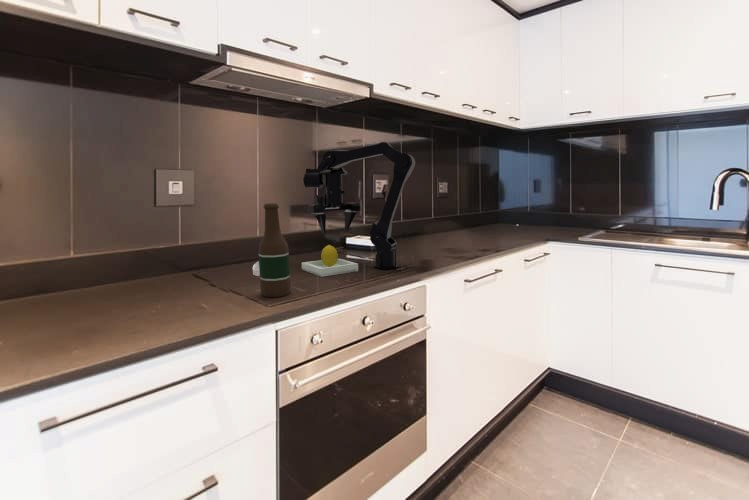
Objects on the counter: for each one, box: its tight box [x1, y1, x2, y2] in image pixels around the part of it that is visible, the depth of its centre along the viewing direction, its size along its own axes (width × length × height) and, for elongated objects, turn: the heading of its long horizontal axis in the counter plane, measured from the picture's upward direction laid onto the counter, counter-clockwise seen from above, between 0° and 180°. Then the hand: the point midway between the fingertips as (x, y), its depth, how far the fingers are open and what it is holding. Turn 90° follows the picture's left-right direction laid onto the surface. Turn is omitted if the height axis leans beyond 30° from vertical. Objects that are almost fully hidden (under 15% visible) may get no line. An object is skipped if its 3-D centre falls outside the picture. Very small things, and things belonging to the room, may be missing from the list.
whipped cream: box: [252, 260, 260, 277], centre depth 134 cm, size 8×7×5 cm
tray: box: [301, 257, 359, 278], centre depth 138 cm, size 14×14×2 cm
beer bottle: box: [258, 202, 292, 298], centre depth 107 cm, size 8×8×24 cm
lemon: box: [320, 244, 339, 267], centre depth 137 cm, size 6×6×8 cm
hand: (335, 232), depth 144 cm, fingers open, 9 cm apart
